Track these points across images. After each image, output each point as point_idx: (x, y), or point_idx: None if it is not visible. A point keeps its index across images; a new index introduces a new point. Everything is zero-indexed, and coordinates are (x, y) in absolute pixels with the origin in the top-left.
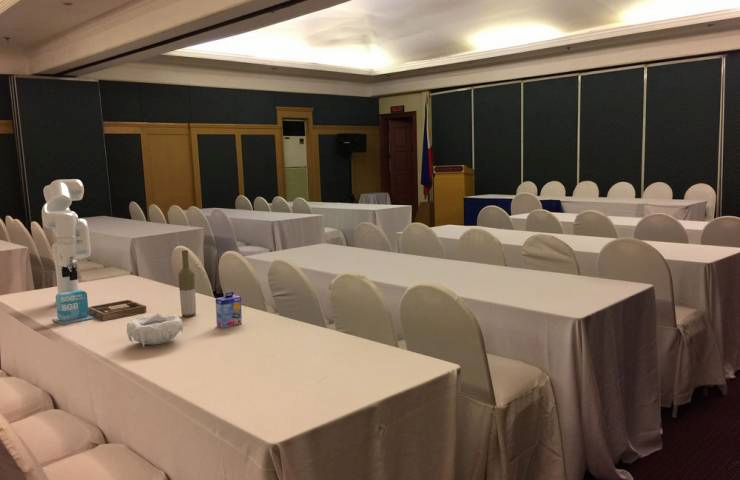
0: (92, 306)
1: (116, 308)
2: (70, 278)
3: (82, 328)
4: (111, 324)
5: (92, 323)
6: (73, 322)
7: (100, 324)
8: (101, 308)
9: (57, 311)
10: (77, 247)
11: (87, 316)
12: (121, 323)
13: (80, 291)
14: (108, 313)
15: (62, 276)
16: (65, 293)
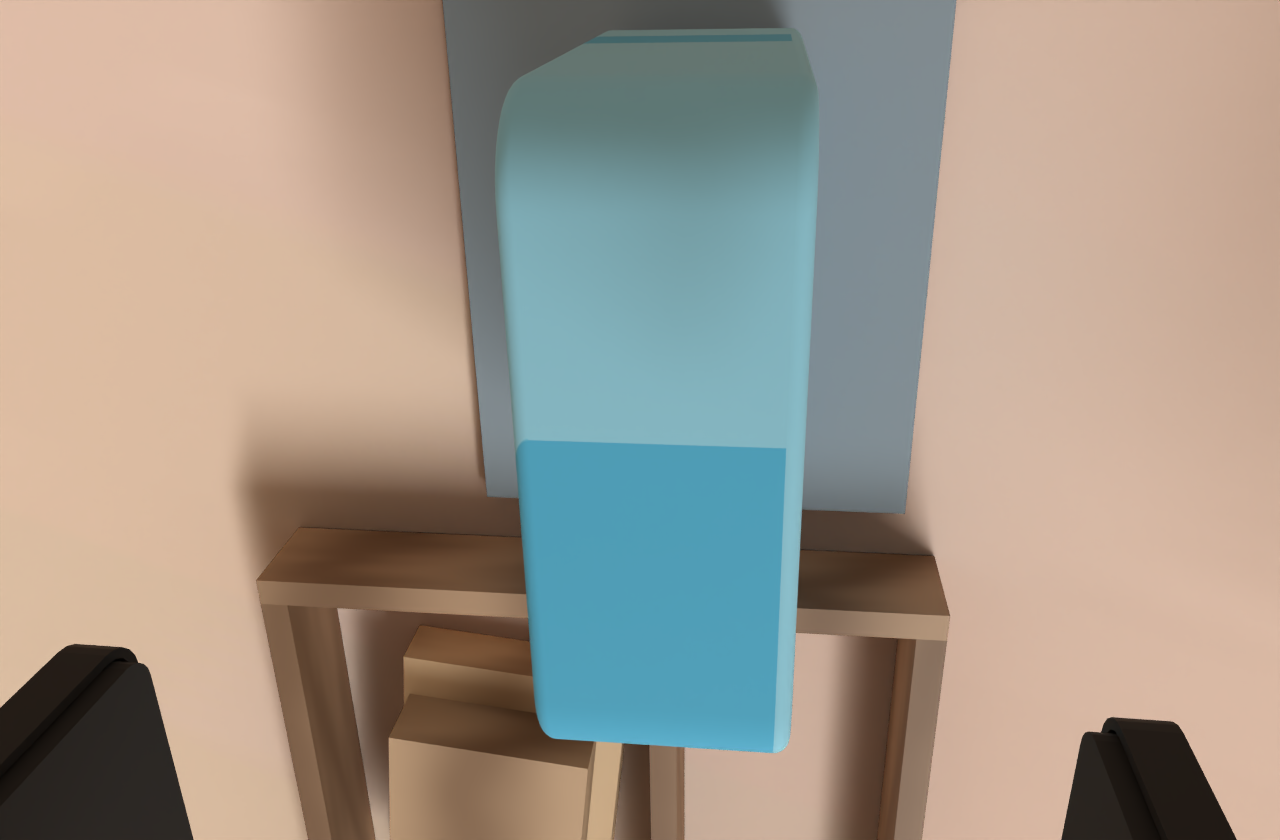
0: (917, 676)
1: (390, 794)
2: (27, 709)
3: (28, 163)
4: (25, 508)
5: (240, 369)
6: (465, 185)
7: (111, 419)
8: None
9: (751, 37)
10: None
11: None
12: (5, 600)
13: (559, 664)
14: (271, 640)
15: (1127, 736)
16: (606, 331)
